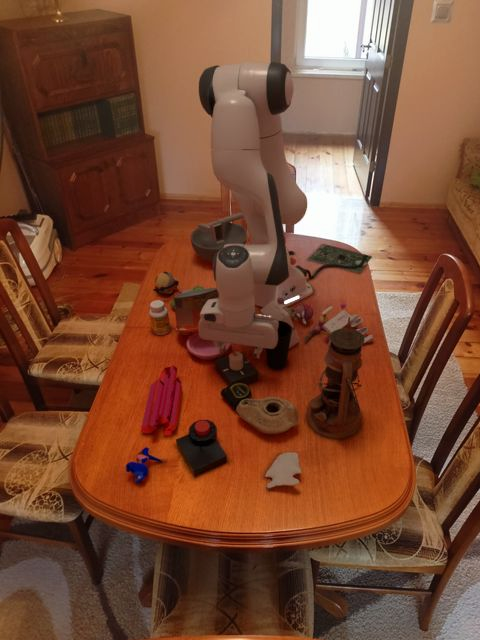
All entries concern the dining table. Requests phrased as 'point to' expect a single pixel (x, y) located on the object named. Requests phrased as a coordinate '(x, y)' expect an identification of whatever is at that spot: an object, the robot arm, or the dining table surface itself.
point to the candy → (324, 320)
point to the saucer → (204, 347)
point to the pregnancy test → (336, 320)
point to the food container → (191, 309)
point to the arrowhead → (284, 470)
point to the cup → (280, 348)
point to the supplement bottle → (159, 317)
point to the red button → (202, 428)
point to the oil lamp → (268, 414)
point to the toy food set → (184, 292)
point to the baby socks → (357, 323)
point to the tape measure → (236, 393)
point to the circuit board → (339, 257)
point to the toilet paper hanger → (218, 227)
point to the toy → (165, 283)
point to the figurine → (140, 465)
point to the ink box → (281, 318)
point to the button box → (201, 450)
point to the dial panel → (237, 371)
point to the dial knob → (236, 360)
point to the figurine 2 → (301, 315)
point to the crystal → (163, 402)
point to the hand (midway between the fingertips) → (239, 354)
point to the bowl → (208, 248)
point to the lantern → (338, 387)
